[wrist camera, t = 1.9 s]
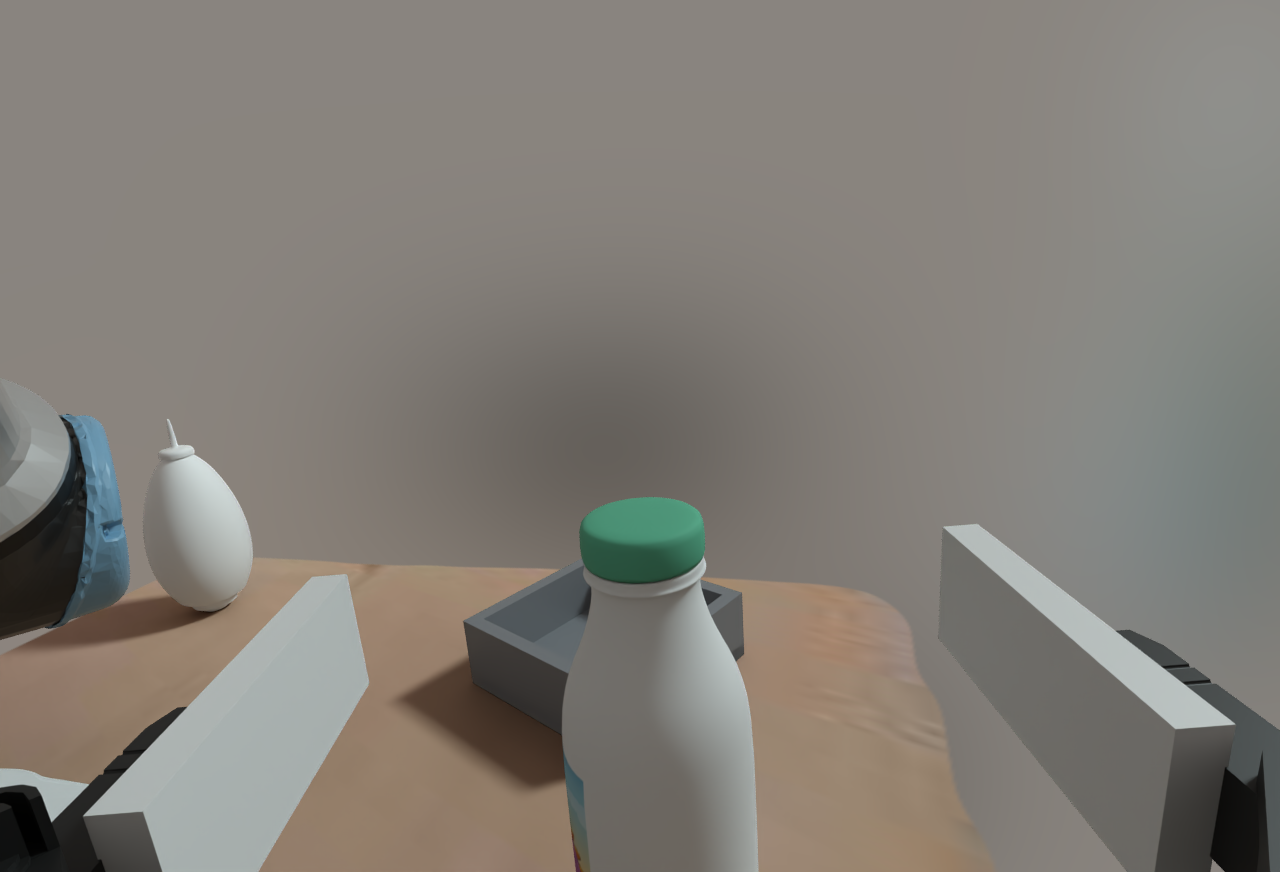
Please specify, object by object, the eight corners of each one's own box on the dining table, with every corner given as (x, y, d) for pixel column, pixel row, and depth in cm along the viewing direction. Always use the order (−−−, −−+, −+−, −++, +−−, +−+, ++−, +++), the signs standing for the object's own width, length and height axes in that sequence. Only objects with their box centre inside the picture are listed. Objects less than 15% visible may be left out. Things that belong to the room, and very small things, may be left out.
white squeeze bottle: (281, 594, 65) (238, 410, 61) (197, 636, 59) (142, 433, 54) (232, 580, 69) (188, 405, 64) (148, 618, 63) (92, 427, 58)
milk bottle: (785, 900, 32) (778, 493, 26) (714, 1070, 26) (686, 581, 20) (641, 837, 36) (610, 471, 30) (550, 971, 29) (489, 539, 24)
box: (472, 682, 50) (463, 620, 48) (606, 601, 60) (601, 548, 58) (615, 766, 41) (608, 693, 39) (743, 654, 51) (741, 592, 49)
